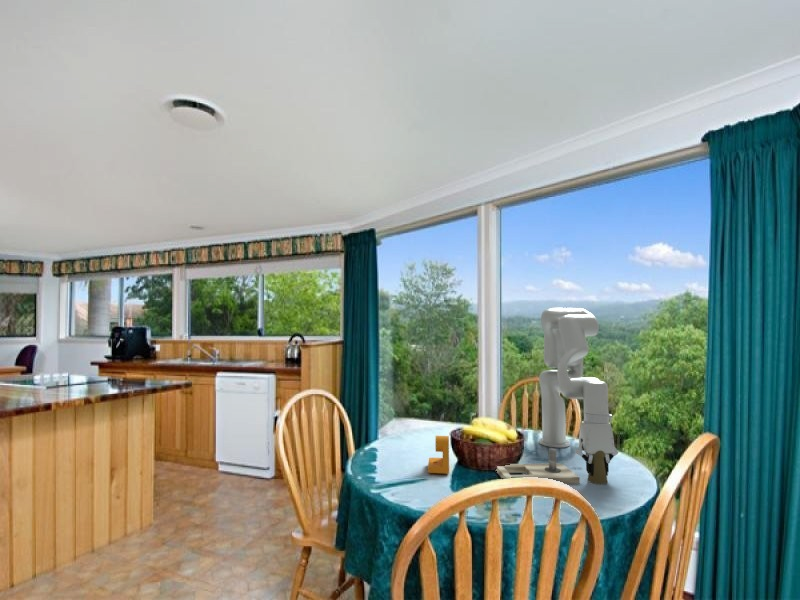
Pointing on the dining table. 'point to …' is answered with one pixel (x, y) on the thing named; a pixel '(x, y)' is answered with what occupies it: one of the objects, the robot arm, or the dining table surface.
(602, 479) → the olive rounded piece
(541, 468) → the beige panel with knob
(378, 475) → the dining table surface
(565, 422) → the robot arm
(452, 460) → the dining table surface
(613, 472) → the dining table surface
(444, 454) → the bracket
